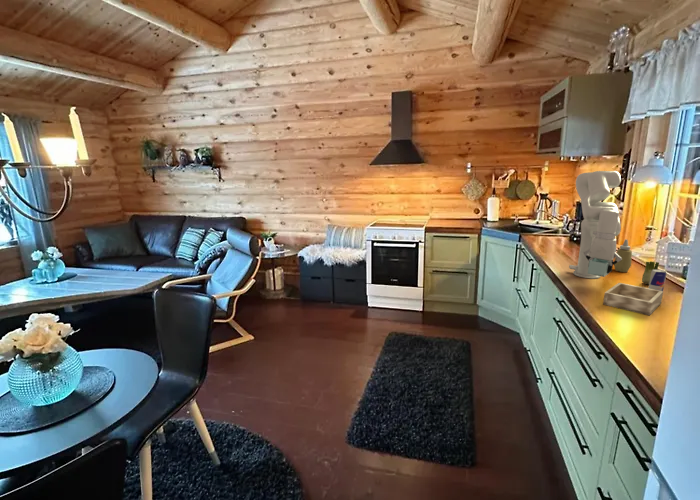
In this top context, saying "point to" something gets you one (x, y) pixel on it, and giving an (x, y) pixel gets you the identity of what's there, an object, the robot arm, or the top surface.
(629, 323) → the top surface
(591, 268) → the small crate
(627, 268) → the squeeze bottle
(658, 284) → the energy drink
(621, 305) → the wooden crate
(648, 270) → the fennel bulb
